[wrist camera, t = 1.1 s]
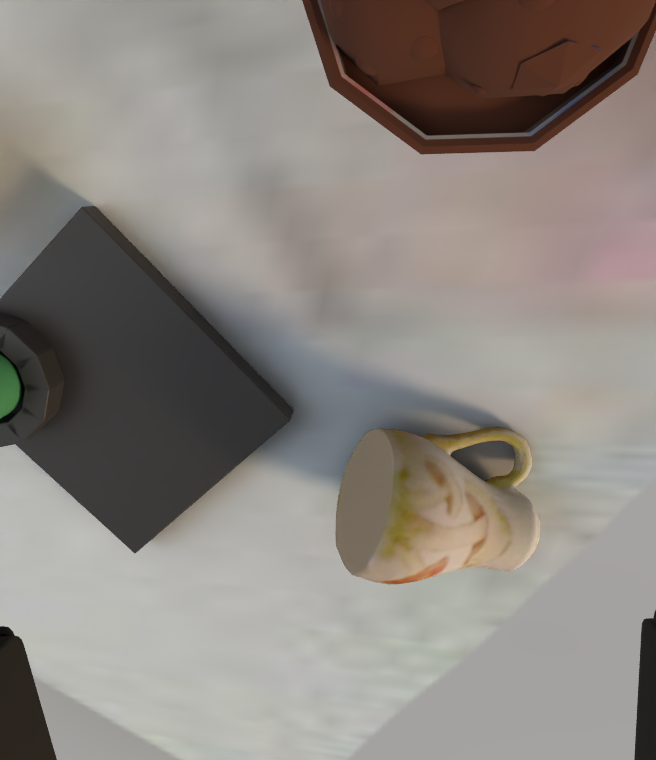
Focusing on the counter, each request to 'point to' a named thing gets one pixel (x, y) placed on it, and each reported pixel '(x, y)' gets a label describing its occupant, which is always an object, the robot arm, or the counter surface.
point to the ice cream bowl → (479, 65)
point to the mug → (431, 508)
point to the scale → (125, 383)
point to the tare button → (8, 387)
